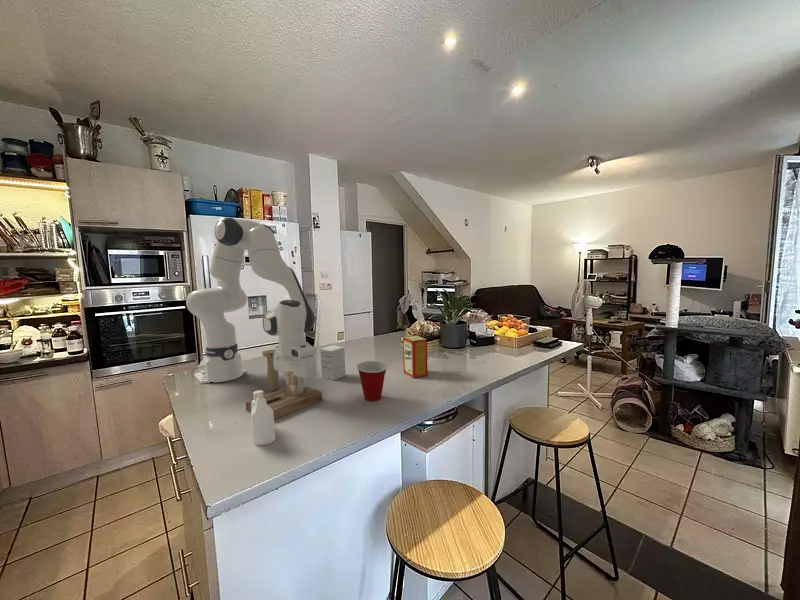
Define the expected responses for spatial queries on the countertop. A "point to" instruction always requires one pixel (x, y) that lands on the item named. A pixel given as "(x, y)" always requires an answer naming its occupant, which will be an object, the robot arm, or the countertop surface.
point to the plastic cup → (372, 379)
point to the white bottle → (256, 394)
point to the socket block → (288, 401)
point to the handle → (271, 370)
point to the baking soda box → (415, 356)
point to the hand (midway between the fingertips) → (294, 386)
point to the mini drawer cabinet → (332, 362)
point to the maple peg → (292, 384)
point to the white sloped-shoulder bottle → (262, 423)
